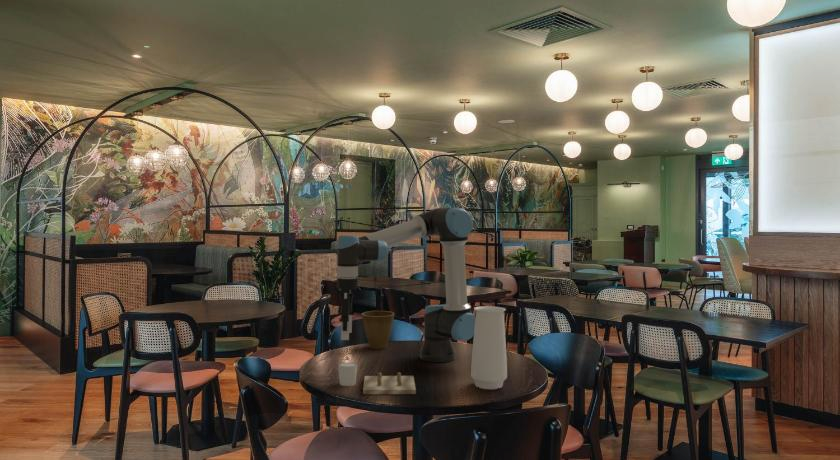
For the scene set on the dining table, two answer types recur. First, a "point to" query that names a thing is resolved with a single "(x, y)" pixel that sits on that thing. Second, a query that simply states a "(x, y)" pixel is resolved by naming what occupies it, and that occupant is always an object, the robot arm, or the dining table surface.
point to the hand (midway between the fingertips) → (346, 336)
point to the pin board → (389, 384)
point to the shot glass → (347, 374)
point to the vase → (489, 348)
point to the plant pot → (378, 328)
